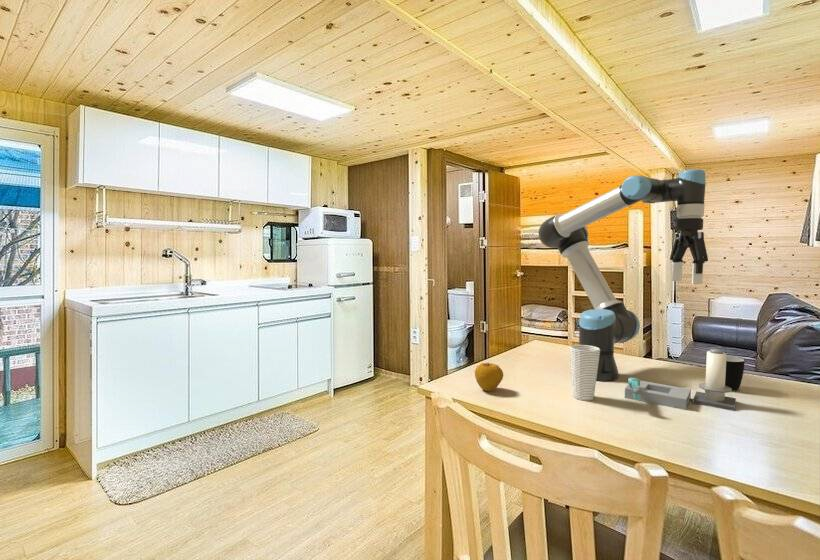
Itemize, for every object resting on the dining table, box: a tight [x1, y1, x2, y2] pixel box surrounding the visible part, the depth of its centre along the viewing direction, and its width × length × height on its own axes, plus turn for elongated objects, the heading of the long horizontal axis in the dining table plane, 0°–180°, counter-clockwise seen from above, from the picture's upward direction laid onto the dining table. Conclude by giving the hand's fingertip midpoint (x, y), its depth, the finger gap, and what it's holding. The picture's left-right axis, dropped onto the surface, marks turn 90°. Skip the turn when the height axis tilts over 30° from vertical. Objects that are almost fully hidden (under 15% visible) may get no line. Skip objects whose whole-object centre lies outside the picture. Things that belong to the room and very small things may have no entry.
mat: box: [692, 391, 737, 412], centre depth 131 cm, size 10×10×1 cm
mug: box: [725, 355, 745, 392], centre depth 146 cm, size 12×9×10 cm
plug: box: [698, 348, 733, 402], centre depth 130 cm, size 8×8×15 cm
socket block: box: [624, 379, 692, 411], centre depth 134 cm, size 16×12×4 cm
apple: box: [474, 362, 504, 392], centre depth 140 cm, size 9×9×9 cm
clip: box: [627, 377, 642, 401], centre depth 128 cm, size 17×3×3 cm, turn 156°
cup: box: [569, 344, 600, 402], centre depth 133 cm, size 8×8×16 cm
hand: (686, 282), depth 145 cm, fingers open, 13 cm apart
